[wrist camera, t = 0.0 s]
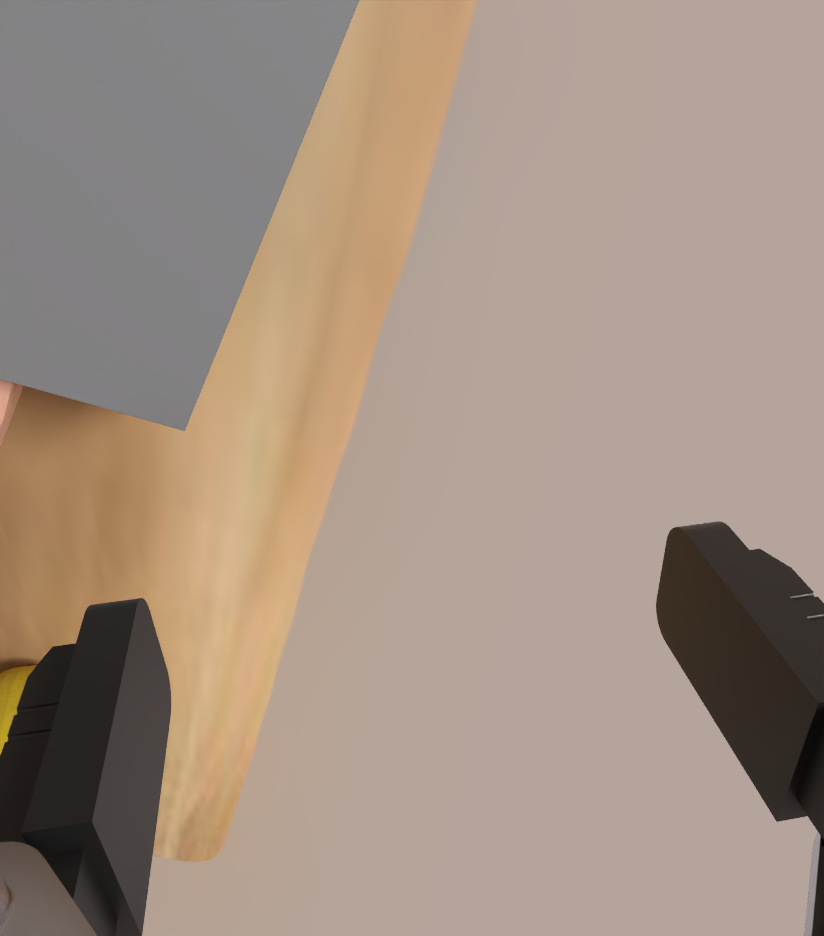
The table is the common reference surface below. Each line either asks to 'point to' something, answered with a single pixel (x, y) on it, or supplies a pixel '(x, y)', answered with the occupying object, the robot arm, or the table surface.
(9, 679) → the lemon
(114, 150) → the sleeve
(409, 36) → the table surface
